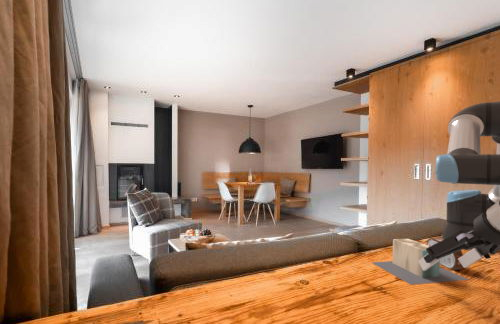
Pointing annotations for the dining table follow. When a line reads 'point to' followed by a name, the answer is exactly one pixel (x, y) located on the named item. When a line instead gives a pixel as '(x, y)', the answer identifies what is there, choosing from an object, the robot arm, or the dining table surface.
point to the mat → (415, 279)
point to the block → (412, 257)
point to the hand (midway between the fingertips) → (442, 264)
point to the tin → (448, 256)
